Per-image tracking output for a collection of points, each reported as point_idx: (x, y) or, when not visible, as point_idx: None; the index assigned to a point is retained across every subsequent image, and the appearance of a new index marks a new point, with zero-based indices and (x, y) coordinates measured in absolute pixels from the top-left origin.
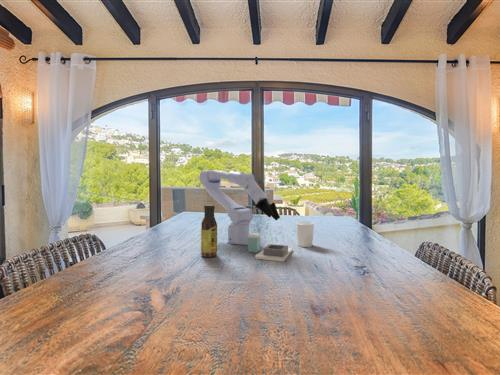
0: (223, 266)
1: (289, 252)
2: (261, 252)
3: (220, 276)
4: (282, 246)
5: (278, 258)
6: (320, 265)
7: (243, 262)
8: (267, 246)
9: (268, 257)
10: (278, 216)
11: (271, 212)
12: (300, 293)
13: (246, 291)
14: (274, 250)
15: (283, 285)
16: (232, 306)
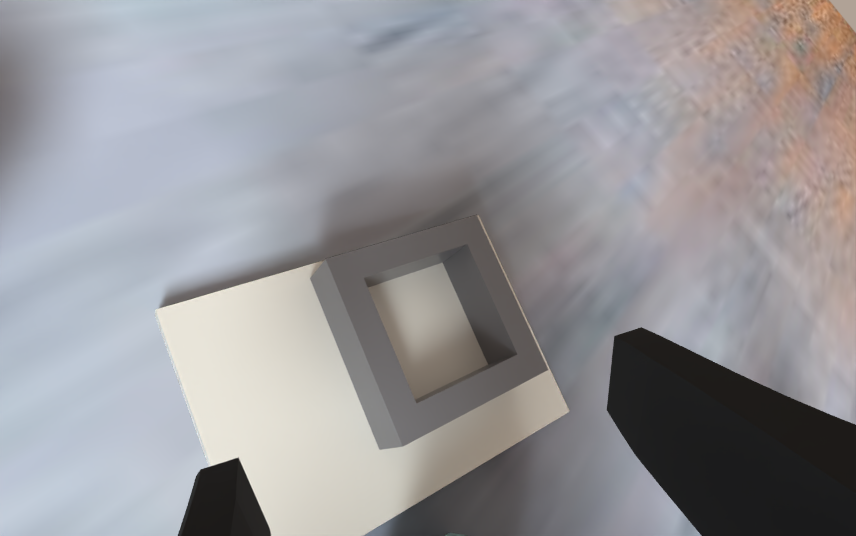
0: None
1: (301, 267)
2: (481, 442)
3: (795, 335)
4: (369, 295)
5: (492, 247)
6: (366, 17)
7: None
8: (481, 390)
9: (523, 314)
10: (245, 488)
11: (675, 355)
12: (659, 24)
13: (769, 168)
14: (504, 281)
15: (663, 89)
16: (822, 148)
